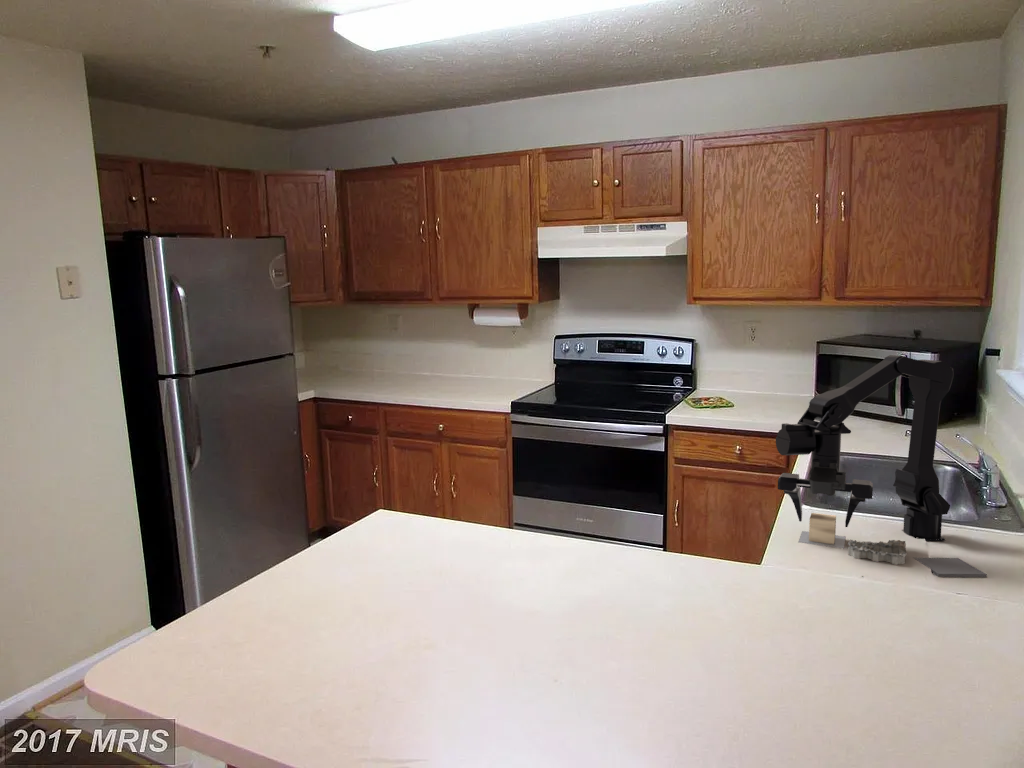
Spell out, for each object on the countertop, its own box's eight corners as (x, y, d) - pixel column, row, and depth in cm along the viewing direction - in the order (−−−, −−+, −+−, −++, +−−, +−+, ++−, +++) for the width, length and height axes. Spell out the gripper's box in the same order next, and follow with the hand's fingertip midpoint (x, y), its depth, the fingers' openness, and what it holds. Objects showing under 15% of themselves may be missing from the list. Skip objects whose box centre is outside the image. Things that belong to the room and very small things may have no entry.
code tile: (802, 533, 159) (802, 530, 159) (845, 539, 155) (845, 536, 155) (797, 544, 152) (798, 542, 151) (843, 551, 147) (843, 548, 147)
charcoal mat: (957, 560, 141) (958, 557, 141) (986, 577, 132) (986, 574, 132) (912, 560, 142) (912, 557, 141) (938, 576, 133) (938, 573, 133)
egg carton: (907, 560, 143) (908, 540, 142) (904, 571, 136) (905, 551, 136) (850, 550, 148) (851, 531, 148) (844, 560, 142) (845, 541, 142)
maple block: (810, 534, 157) (811, 512, 156) (835, 537, 154) (836, 515, 154) (808, 540, 152) (809, 518, 152) (833, 544, 150) (834, 521, 150)
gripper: (775, 456, 149) (773, 528, 150) (873, 464, 140) (870, 540, 142) (781, 447, 159) (779, 515, 160) (874, 455, 150) (871, 525, 151)
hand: (823, 523), depth 153 cm, fingers open, 9 cm apart
